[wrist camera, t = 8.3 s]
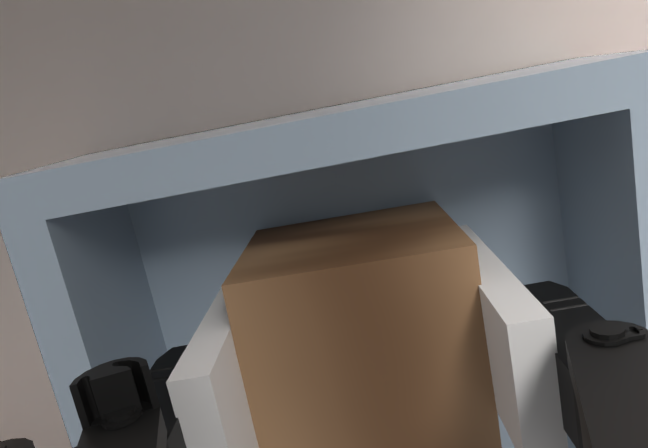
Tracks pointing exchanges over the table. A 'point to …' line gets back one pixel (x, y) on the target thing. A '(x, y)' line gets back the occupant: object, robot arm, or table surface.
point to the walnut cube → (364, 333)
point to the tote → (336, 203)
